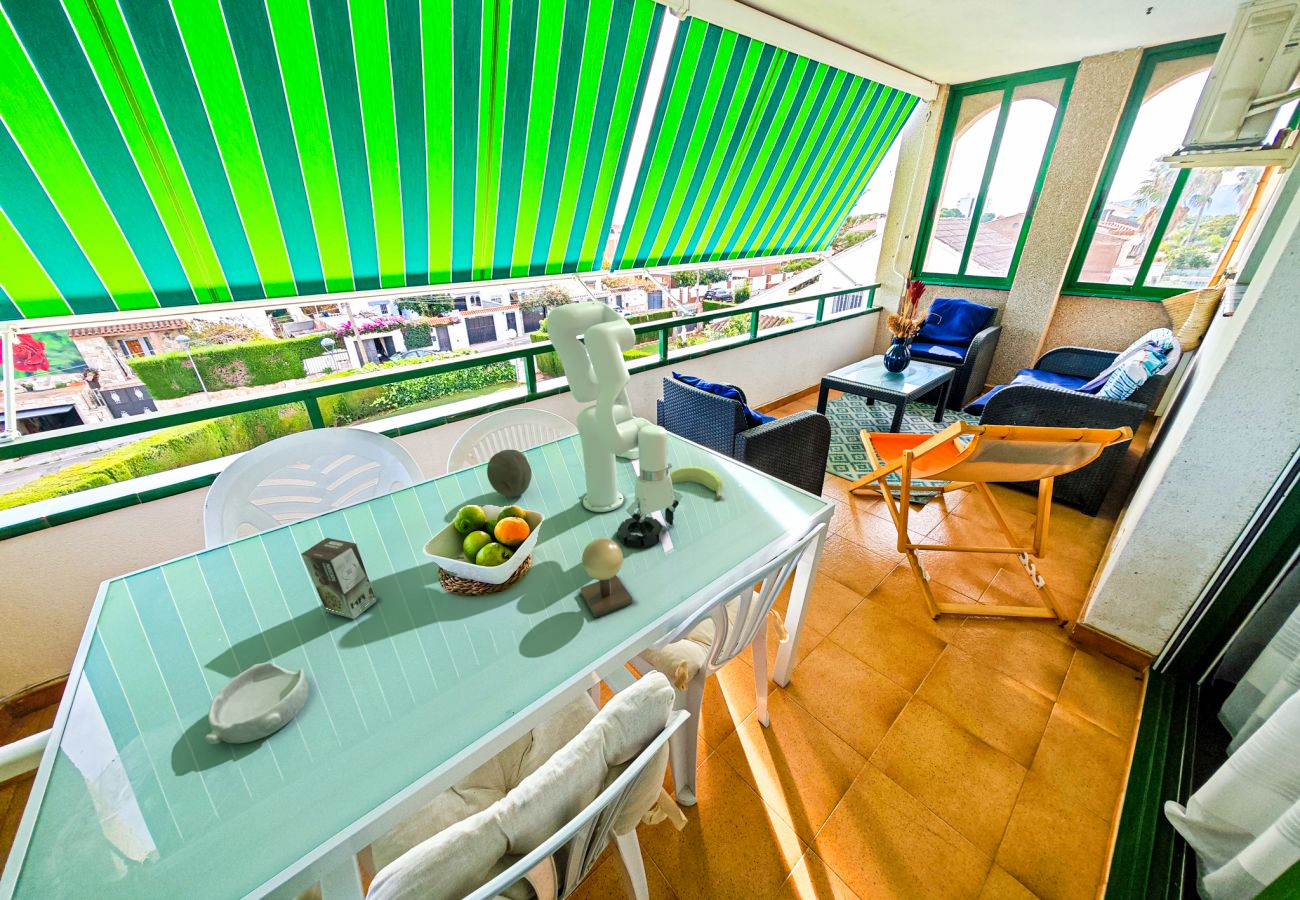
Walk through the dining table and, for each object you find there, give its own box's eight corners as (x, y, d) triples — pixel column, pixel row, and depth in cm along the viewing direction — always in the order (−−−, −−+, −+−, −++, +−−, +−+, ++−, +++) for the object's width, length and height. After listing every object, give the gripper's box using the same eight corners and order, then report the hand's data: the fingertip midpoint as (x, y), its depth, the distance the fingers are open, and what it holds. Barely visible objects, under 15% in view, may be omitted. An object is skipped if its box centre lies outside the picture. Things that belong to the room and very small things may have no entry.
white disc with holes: (655, 451, 178) (626, 463, 169) (625, 438, 190) (597, 449, 181) (655, 443, 176) (626, 454, 167) (625, 431, 188) (596, 441, 180)
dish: (253, 679, 88) (243, 660, 85) (328, 672, 88) (320, 654, 86) (190, 756, 74) (176, 736, 72) (280, 747, 75) (268, 727, 73)
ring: (612, 530, 129) (612, 523, 128) (649, 519, 134) (649, 512, 133) (630, 553, 120) (630, 545, 119) (669, 539, 125) (669, 532, 124)
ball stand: (580, 592, 107) (574, 537, 100) (616, 579, 110) (611, 525, 104) (595, 617, 99) (589, 560, 93) (632, 603, 103) (629, 546, 97)
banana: (693, 454, 157) (733, 482, 143) (695, 466, 160) (734, 495, 146) (661, 473, 152) (699, 505, 138) (664, 485, 155) (701, 517, 141)
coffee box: (378, 600, 106) (357, 543, 100) (353, 620, 101) (330, 561, 94) (349, 592, 109) (327, 536, 103) (324, 611, 104) (299, 553, 97)
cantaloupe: (544, 489, 152) (538, 448, 146) (511, 509, 142) (503, 465, 135) (514, 479, 159) (507, 440, 153) (481, 497, 149) (472, 456, 143)
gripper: (674, 459, 128) (675, 512, 135) (618, 474, 121) (621, 529, 128) (689, 469, 122) (689, 524, 129) (630, 485, 114) (633, 543, 122)
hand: (655, 527), depth 128 cm, fingers open, 8 cm apart
